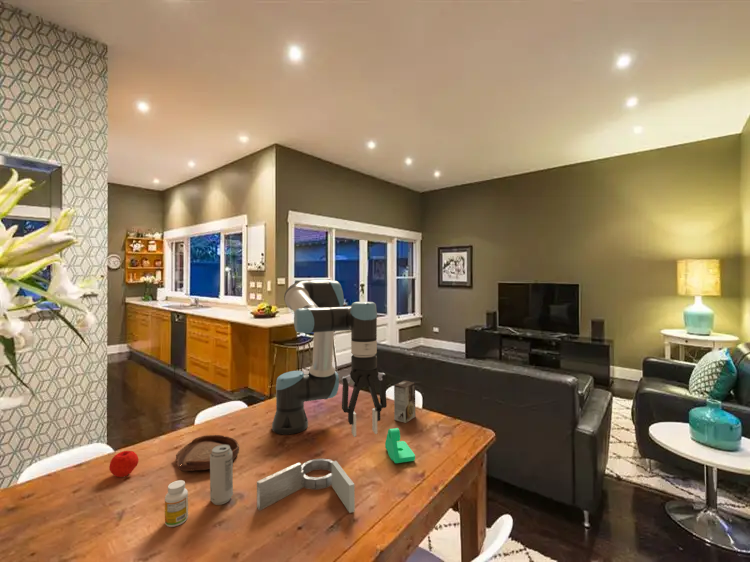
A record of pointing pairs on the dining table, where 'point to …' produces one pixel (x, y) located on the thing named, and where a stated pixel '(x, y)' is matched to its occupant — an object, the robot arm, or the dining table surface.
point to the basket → (203, 452)
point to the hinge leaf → (343, 486)
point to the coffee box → (404, 401)
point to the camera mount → (398, 447)
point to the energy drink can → (221, 474)
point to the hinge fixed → (292, 481)
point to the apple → (123, 463)
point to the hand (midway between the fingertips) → (364, 433)
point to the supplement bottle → (176, 504)
